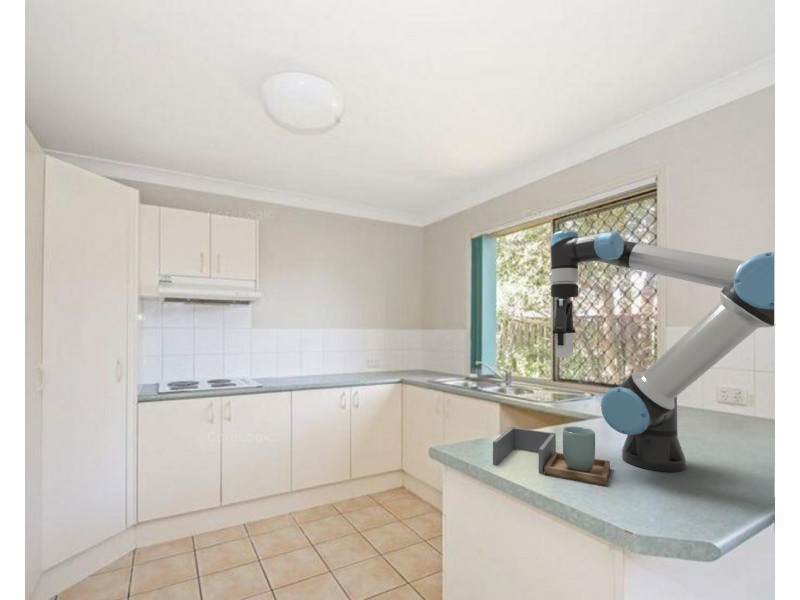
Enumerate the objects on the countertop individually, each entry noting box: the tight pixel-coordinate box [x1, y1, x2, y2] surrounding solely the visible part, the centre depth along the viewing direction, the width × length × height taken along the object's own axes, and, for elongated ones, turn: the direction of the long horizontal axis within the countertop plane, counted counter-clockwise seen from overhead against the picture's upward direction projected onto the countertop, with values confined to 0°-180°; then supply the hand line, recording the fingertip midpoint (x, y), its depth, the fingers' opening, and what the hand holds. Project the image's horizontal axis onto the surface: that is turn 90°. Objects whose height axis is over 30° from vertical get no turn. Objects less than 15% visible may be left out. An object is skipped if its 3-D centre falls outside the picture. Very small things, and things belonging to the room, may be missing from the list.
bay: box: [492, 426, 557, 475], centre depth 118 cm, size 13×18×6 cm
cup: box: [562, 426, 596, 472], centre depth 108 cm, size 8×8×10 cm
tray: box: [543, 452, 611, 487], centre depth 108 cm, size 14×14×2 cm
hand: (564, 355), depth 123 cm, fingers open, 13 cm apart
